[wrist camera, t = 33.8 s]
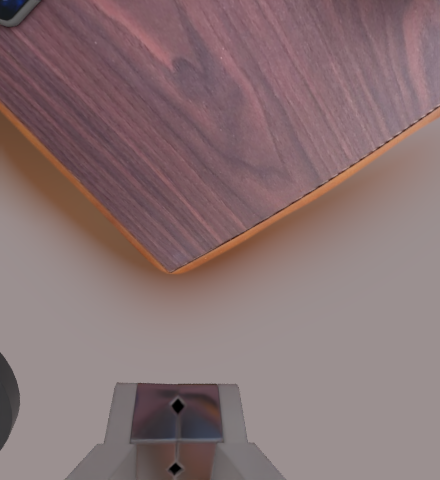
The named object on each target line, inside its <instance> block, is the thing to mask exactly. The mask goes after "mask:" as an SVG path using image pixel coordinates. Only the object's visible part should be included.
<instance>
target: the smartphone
mask: <svg viewBox="0 0 440 480" xmlns="http://www.w3.org/2000/svg"><path fill="white" fill-rule="evenodd" d="M40 1H41V0H0V24H1V25H3V26H7V27H14V26H17V25H18V24H20V23H21V21H22V20H23V19H24V18H25V17H26V16H27V15H28V14H29V13H30V12H31V11H32V10H33V9H34V7H35V6H36V5H37V4H38V3H39V2H40Z"/></svg>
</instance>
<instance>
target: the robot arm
mask: <svg viewBox="0 0 440 480" xmlns="http://www.w3.org/2000/svg"><path fill="white" fill-rule="evenodd" d="M65 480H286V479H285V478H284V477H283V476H282V475H281V473H280V472H279V471H278V470H277V469H276V468H275V466H274V465H273V464H272V463H271V462H270V461H269V459H267V457H266V456H265V455H264V454H263V453H262V451H261V450H260V449H259V448H258V447H257V446H256V444H255V443H248V440H247V434H246V428H245V422H244V416H243V410H242V404H241V398H240V392H239V387H238V385H237V384H152V383H117V384H116V386H115V388H114V394H113V399H112V404H111V409H110V415H109V419H108V425H107V430H106V435H105V440H104V444H97V445H96V446H95V447H94V448H93V449H92V450H91V451H90V452H89V454H88V455H87V456H86V457H85V458H84V459H83V460H82V461H81V462H80V463H79V465H78V466H77V467H76V468H75V469H74V470H73V471H72V472H71V473H70V475H69V476H68V477H67V478H66V479H65Z"/></svg>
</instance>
